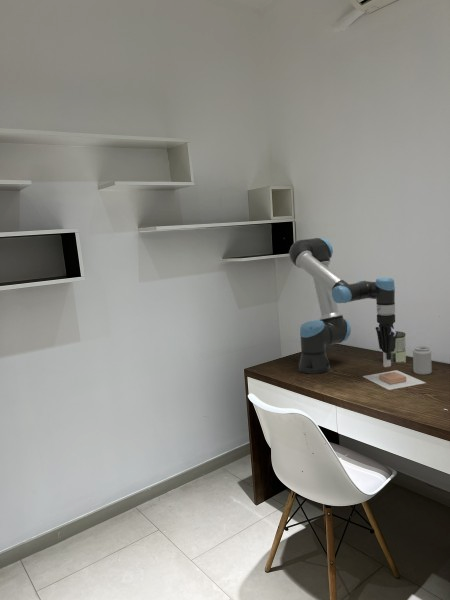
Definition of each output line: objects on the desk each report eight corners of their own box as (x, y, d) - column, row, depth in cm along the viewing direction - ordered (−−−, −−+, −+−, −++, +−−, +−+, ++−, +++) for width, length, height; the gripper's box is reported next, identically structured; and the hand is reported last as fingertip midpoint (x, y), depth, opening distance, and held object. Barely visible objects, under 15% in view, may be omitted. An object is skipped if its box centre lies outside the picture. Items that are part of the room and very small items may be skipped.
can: (434, 372, 208) (433, 346, 206) (428, 377, 202) (427, 350, 200) (417, 369, 213) (416, 344, 211) (410, 374, 207) (410, 348, 206)
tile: (379, 374, 202) (390, 379, 194) (394, 371, 204) (406, 376, 196) (379, 379, 202) (390, 384, 195) (395, 376, 204) (406, 381, 197)
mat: (362, 377, 208) (362, 376, 208) (396, 371, 213) (396, 370, 213) (389, 391, 189) (388, 389, 189) (426, 384, 194) (426, 382, 194)
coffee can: (384, 364, 225) (383, 336, 223) (383, 358, 235) (382, 331, 233) (407, 364, 222) (406, 335, 220) (405, 358, 232) (404, 330, 230)
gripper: (369, 312, 204) (371, 363, 208) (387, 317, 191) (388, 371, 195) (384, 310, 206) (385, 361, 209) (402, 315, 193) (403, 368, 197)
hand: (387, 366), depth 202 cm, fingers closed
